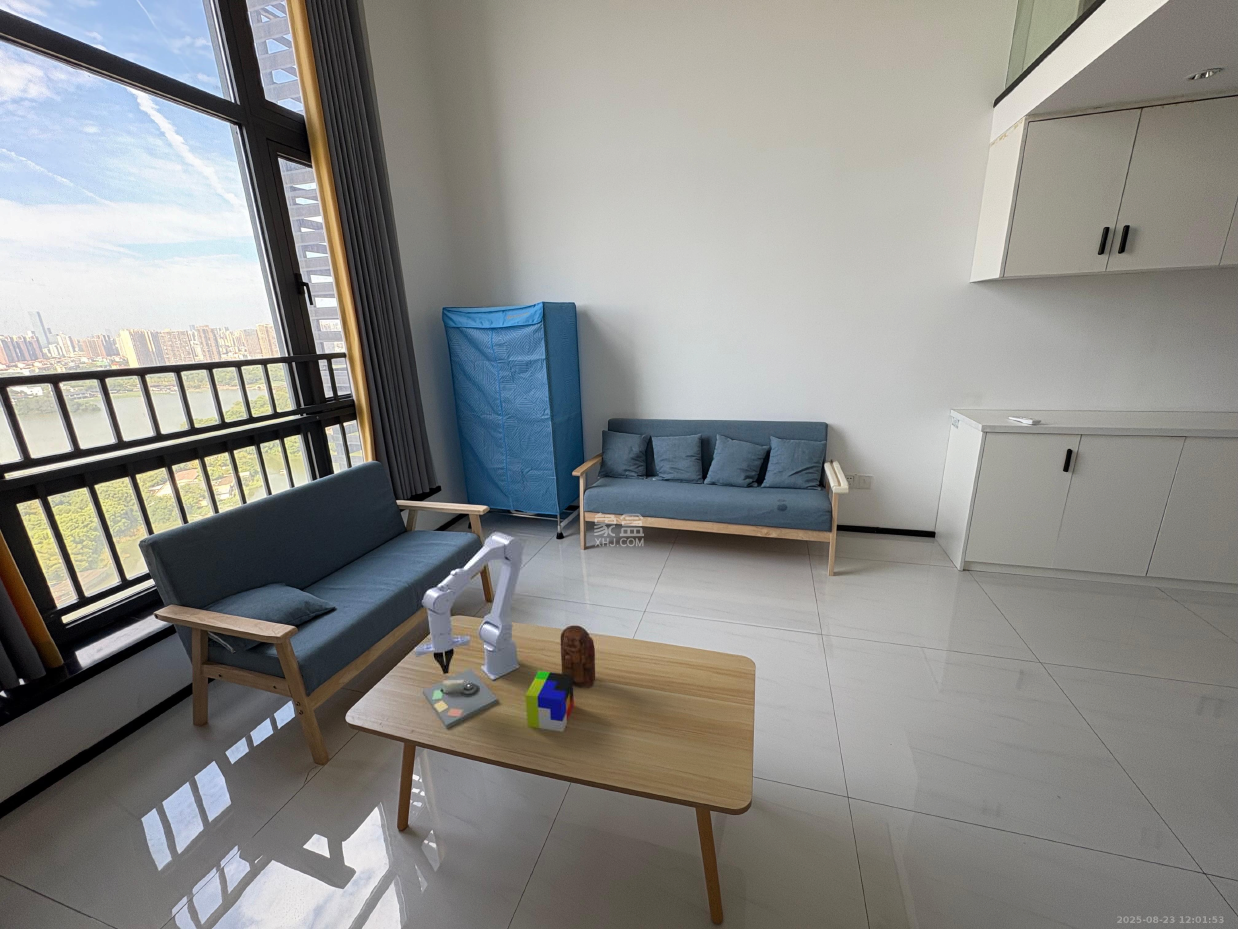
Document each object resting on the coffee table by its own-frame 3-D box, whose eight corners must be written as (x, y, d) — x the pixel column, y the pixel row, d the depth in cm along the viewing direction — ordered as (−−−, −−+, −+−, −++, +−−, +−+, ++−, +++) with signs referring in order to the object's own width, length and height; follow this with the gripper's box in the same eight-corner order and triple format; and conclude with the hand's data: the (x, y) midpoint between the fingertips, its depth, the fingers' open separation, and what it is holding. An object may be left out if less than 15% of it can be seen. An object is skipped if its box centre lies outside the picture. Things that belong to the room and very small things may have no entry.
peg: (478, 685, 147) (477, 676, 146) (475, 694, 143) (474, 685, 142) (442, 687, 146) (441, 677, 145) (438, 696, 142) (437, 687, 141)
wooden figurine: (555, 683, 149) (553, 631, 145) (564, 670, 155) (561, 619, 150) (592, 691, 145) (590, 637, 141) (599, 677, 151) (598, 625, 147)
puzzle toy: (563, 732, 130) (561, 700, 128) (527, 726, 132) (525, 695, 130) (573, 705, 140) (572, 675, 138) (540, 700, 142) (538, 670, 140)
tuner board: (471, 671, 155) (470, 668, 154) (497, 702, 141) (497, 698, 141) (423, 693, 145) (422, 689, 145) (446, 728, 132) (446, 724, 132)
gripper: (466, 616, 143) (470, 657, 146) (413, 627, 138) (418, 669, 141) (469, 629, 136) (473, 671, 140) (412, 641, 131) (418, 685, 135)
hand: (445, 671), depth 140 cm, fingers closed
